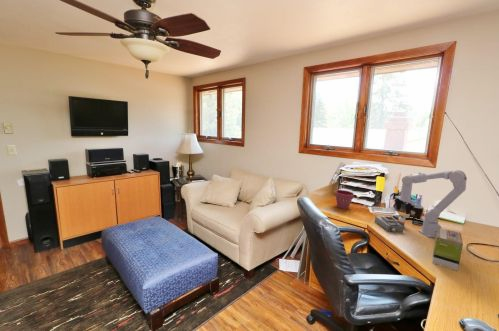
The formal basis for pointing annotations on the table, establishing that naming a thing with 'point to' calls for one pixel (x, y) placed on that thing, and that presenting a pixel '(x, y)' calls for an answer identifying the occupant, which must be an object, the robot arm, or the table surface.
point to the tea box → (447, 248)
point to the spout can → (401, 220)
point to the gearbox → (389, 223)
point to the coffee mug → (416, 211)
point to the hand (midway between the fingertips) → (402, 211)
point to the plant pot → (344, 198)
